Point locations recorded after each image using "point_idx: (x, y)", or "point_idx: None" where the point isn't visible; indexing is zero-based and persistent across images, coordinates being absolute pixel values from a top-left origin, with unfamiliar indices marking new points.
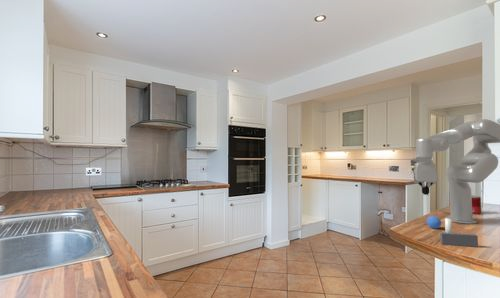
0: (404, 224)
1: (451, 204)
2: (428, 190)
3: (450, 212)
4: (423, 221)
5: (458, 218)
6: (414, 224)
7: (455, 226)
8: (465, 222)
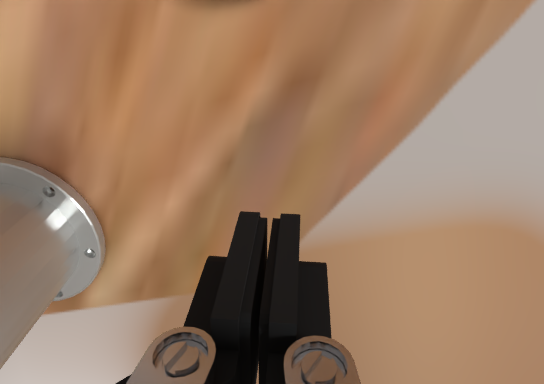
0: (503, 24)
1: (4, 312)
2: (213, 285)
3: (57, 280)
4: (286, 174)
5: (31, 203)
6: (407, 46)
7: (94, 51)
8: (5, 159)
